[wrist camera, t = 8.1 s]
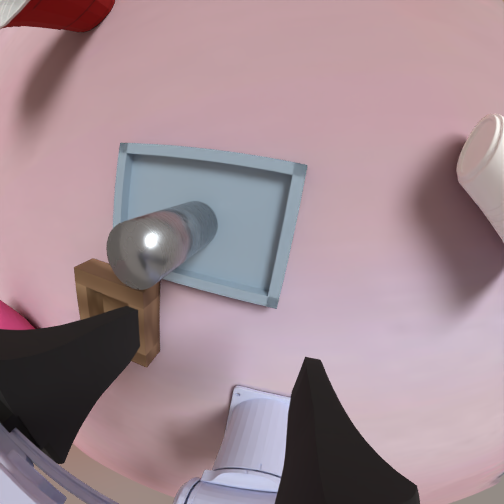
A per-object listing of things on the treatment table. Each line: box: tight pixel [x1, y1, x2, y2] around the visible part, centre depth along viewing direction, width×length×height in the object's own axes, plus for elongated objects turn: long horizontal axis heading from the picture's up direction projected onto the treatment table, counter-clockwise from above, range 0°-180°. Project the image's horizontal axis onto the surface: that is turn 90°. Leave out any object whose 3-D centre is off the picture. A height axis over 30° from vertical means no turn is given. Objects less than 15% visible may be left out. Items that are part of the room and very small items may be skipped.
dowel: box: [107, 201, 218, 290], centre depth 16 cm, size 3×3×8 cm
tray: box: [113, 143, 307, 309], centre depth 19 cm, size 10×14×2 cm
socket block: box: [74, 258, 160, 367], centre depth 23 cm, size 8×8×3 cm
